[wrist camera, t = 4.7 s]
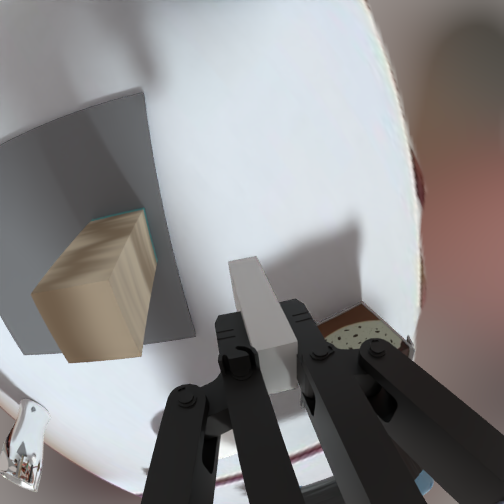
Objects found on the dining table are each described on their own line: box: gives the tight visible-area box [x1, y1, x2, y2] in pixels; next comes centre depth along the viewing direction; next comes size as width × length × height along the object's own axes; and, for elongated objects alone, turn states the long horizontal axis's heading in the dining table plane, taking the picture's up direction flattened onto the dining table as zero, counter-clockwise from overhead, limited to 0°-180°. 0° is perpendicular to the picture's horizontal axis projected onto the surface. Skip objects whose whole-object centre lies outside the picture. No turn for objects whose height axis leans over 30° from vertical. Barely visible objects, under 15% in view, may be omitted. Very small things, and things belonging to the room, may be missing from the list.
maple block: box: [31, 208, 158, 363], centre depth 18 cm, size 5×5×12 cm
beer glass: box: [0, 399, 51, 492], centre depth 25 cm, size 7×7×15 cm
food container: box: [316, 301, 415, 360], centre depth 30 cm, size 12×6×10 cm, turn 111°
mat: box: [0, 93, 196, 355], centre depth 23 cm, size 24×24×1 cm
